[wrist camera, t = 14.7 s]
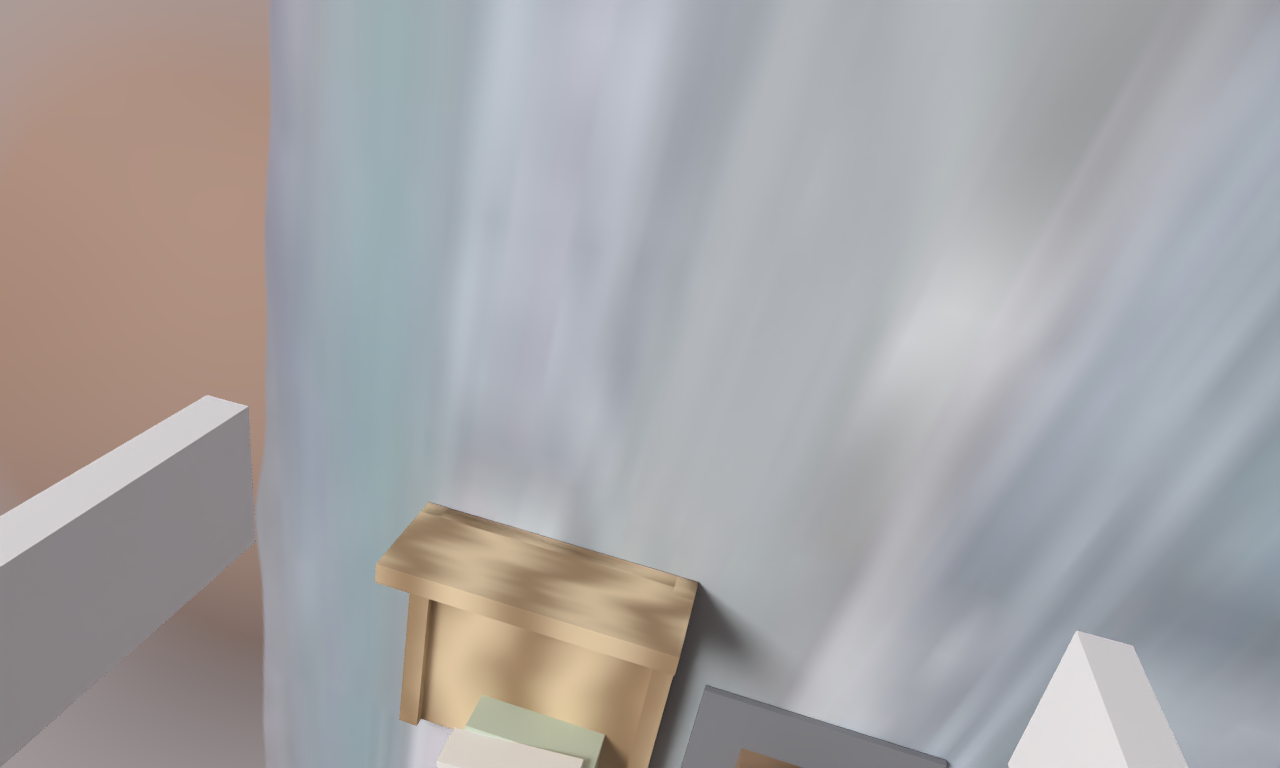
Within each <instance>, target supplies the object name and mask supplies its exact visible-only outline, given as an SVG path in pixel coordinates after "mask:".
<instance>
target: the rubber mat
mask: <svg viewBox="0 0 1280 768" xmlns="http://www.w3.org/2000/svg"><path fill="white" fill-rule="evenodd" d="M741 748H743V749H746V750H749V751H752V752H756V753H759V754H762V755H765V756H768V757H771V758H774V759H777V760H780V761H784V762H787V763H790V764H793V765H796V766H799V767H802V768H946V767H947V763H946V760H944V759H940V758H937V757H934V756H931V755H928V754H924V753H921V752H918V751H915V750H912V749H908V748H905V747H902V746H899V745H896V744H892V743H889V742H886V741H883V740H880V739H876V738H873V737H870V736H867V735H864V734H860V733H857V732H854V731H851V730H848V729H844V728H841V727H838V726H835V725H832V724H828V723H825V722H822V721H819V720H815V719H812V718H809V717H806V716H803V715H799V714H796V713H793V712H790V711H787V710H783V709H780V708H777V707H774V706H771V705H767V704H764V703H761V702H758V701H755V700H751V699H748V698H745V697H742V696H739V695H735V694H732V693H729V692H726V691H723V690H719V689H716V688H713V687H710V686H707V685H706V687H705V690H704V693H703V697H702V700H701V703H700V706H699V710H698V713H697V716H696V720H695V723H694V726H693V730H692V733H691V736H690V739H689V743H688V746H687V749H686V753H685V756H684V759H683V762H682V766H681V768H735V766H736V763H737V760H738V757H739V754H740V751H741Z"/></svg>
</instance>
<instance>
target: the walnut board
mask: <svg viewBox="0 0 1280 768" xmlns="http://www.w3.org/2000/svg"><path fill="white" fill-rule="evenodd" d="M735 768H802V767H799V766H796V765H793V764H790V763H787V762H784V761H780V760H777V759H774V758H771V757H768V756H765V755H762V754H759V753H756V752H752V751H749V750H746V749H743V748H741V751H740V754H739V757H738V760H737V763H736V766H735Z"/></svg>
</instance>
